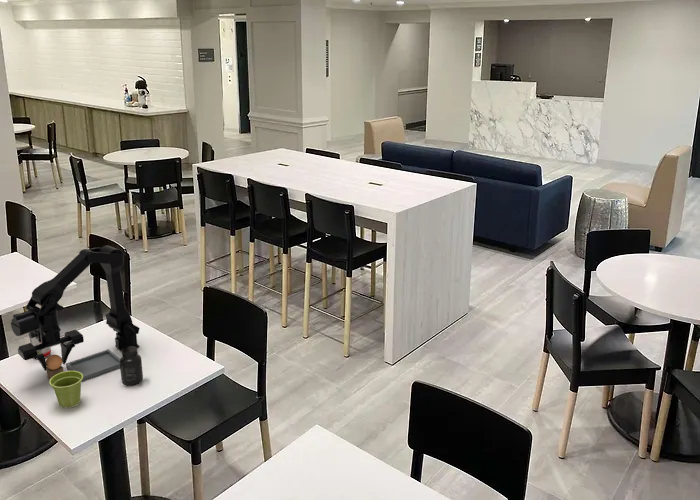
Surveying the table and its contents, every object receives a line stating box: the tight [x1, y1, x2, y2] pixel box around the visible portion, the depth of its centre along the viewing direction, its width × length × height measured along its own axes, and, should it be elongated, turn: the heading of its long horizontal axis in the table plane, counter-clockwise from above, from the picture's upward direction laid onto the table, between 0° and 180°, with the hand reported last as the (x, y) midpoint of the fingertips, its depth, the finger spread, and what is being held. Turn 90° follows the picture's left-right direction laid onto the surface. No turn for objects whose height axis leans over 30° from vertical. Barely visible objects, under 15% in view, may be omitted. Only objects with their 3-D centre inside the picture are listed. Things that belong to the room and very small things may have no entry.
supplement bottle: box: [119, 346, 144, 387], centre depth 198 cm, size 7×7×12 cm
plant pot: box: [48, 370, 83, 409], centre depth 186 cm, size 9×9×9 cm
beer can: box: [28, 335, 52, 359], centre depth 211 cm, size 6×6×16 cm
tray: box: [65, 348, 121, 383], centre depth 207 cm, size 15×12×2 cm
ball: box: [45, 353, 63, 370], centre depth 198 cm, size 5×5×5 cm
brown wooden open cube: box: [45, 365, 65, 381], centre depth 200 cm, size 4×4×4 cm
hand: (54, 367), depth 199 cm, fingers open, 6 cm apart
